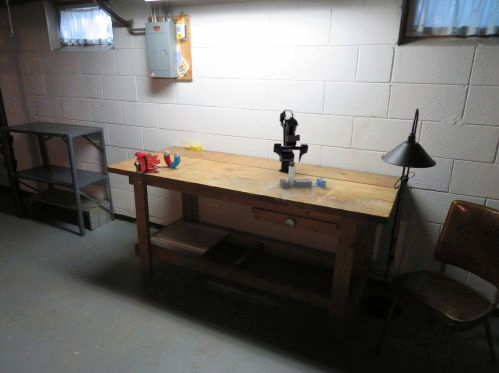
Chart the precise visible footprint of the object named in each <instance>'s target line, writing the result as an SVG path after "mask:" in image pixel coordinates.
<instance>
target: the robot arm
mask: <svg viewBox="0 0 499 373" xmlns="http://www.w3.org/2000/svg"><path fill="white" fill-rule="evenodd" d="M279 122H280V126H281V127H282V136H283V137H282V141H283V142H282V143H283V144H282V143H279V142H275V143H274V144H273V150H272V151H273V153H275V154H276V155H278V159H279V160H278V161H279V163H280V168H279V169H278V171H279V172H285V173H289V166H290V162H295V158H296V157H295V156H296V155H295V152H294V151H299V154H298V163H300V162H301V160H302V157H303V155H305V154H307V153H308V150H309V145H308V144H307V143H300V146H297V144H298V143H297V142H300V141H301V135H300V134H296V132H297V127H298V126H299V122H298V120H296V118H295V117H294V113H293V110H291V109H283V111H282V112H280V114H279Z"/></svg>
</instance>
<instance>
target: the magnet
mask: <svg viewBox="0 0 499 373" xmlns="http://www.w3.org/2000/svg"><path fill="white" fill-rule="evenodd" d="M170 155H171V151H169V150H168V149H167V150H164V152H163V160H164V162H165V165H167V167H169V168H176V167H179V165H180V163H181V154H180V151H179V152H175V153H173V154H172V155H173V161H172V159H171V156H170Z"/></svg>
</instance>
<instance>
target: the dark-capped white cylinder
mask: <svg viewBox="0 0 499 373" xmlns="http://www.w3.org/2000/svg"><path fill="white" fill-rule="evenodd" d="M295 175H296V162H295V161H293V162H290V166H289V172H288V175H287V176H288V177H287V178H288V180H287V182H288V186H289V187H294V179H295Z"/></svg>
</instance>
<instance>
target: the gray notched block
mask: <svg viewBox="0 0 499 373" xmlns="http://www.w3.org/2000/svg"><path fill="white" fill-rule="evenodd" d="M278 184H279V186H280V187H281V188H282V189H298V188H299V189H302V188H325V187H327V186H326V185H327V180H325V179H324V178H323V177H317V178H316V181H315V182H313V181H312V180H310V179H309V178H294V187H289V186H288V180H287V179H286V178H281V179H279V183H278Z"/></svg>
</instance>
